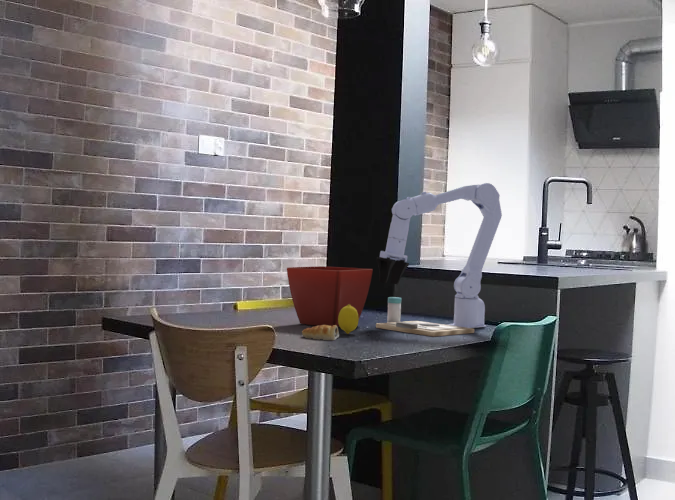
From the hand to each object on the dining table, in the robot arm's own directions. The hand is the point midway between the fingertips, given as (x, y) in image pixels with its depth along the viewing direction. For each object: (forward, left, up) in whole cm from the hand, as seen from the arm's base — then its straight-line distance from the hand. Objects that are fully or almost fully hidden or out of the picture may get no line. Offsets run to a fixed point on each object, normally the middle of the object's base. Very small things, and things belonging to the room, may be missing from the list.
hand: (388, 283), depth 247 cm
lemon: (+27, +11, -13) cm, 32 cm away
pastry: (+39, +14, -13) cm, 44 cm away
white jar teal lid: (-4, -1, -13) cm, 13 cm away
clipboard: (0, +15, -13) cm, 20 cm away
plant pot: (+17, -8, -13) cm, 23 cm away
